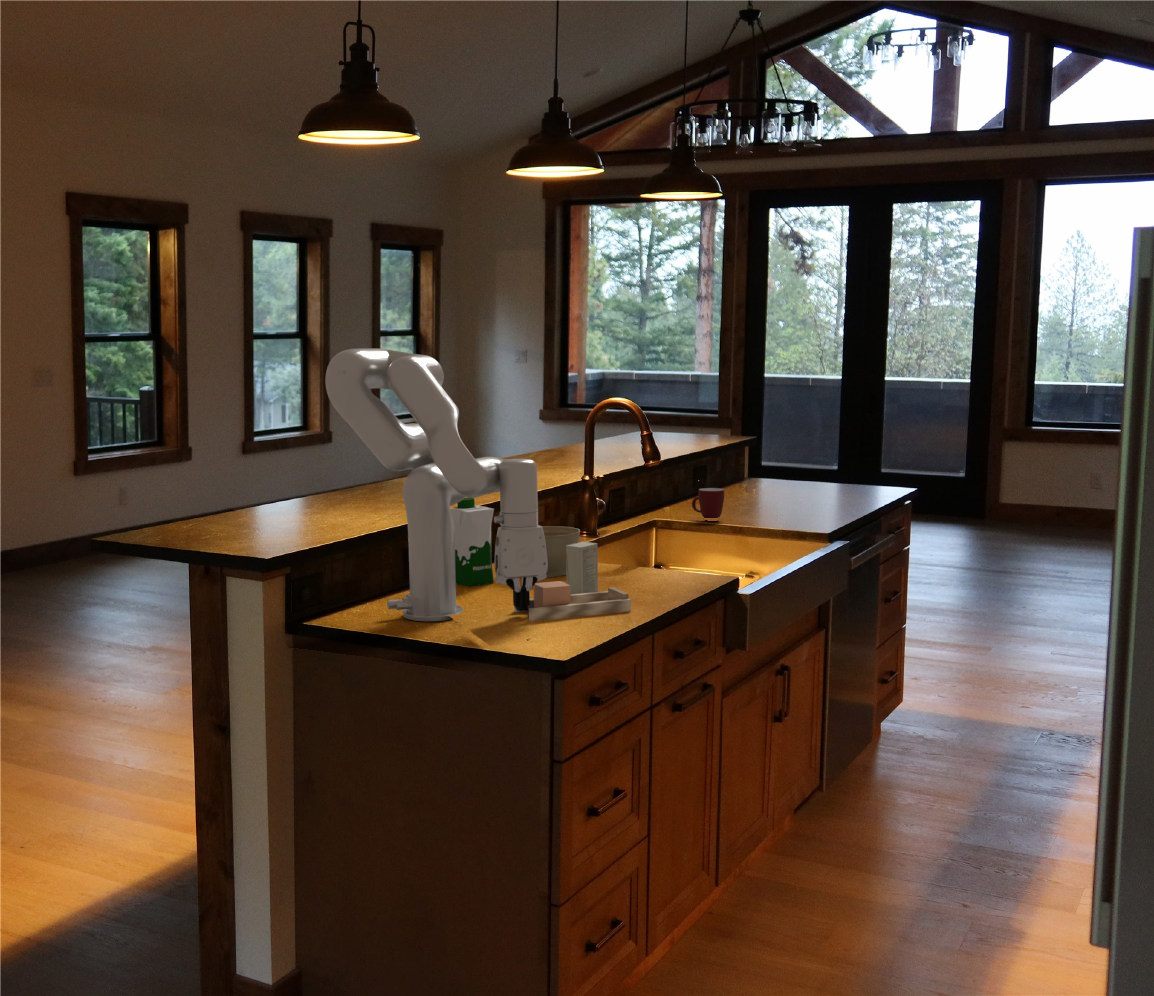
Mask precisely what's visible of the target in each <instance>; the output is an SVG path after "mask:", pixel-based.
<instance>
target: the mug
mask: <svg viewBox="0 0 1154 996" xmlns="http://www.w3.org/2000/svg"><path fill="white" fill-rule="evenodd" d="M697 501H698V502H699V509H698V508H697V505H696V503H697ZM724 501H725V489H724V488H718V487H705V488H698V496H696V497H694V498H693V499H692V502H691V507H692V509H693V511H695V512H697V513H700V514H701V516H702V517H704V518H718V517H719V518H720V517H721V515H722V513H723V508H724V503H725V502H724ZM704 518H703V519H704Z"/></svg>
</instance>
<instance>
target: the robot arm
mask: <svg viewBox="0 0 1154 996" xmlns="http://www.w3.org/2000/svg"><path fill="white" fill-rule="evenodd" d="M444 378H445V374H444V371H443V367H442V366H441V364H440V362H438V361H437V360H436V359H435V358H433V356H430V355H426V354H419V353H418V354H417V353H410V352H404V351H398V350H394V349H393V350H392V349H386V348H385V349H384V348H378V347H377V348H375V347H374V348H373V347H372V348H370V347H369V348H366V347H365V348H363V347H361V348H358V347H357V348H350V349H344V350H342V351H340V352H338V353H336V354H335V355H334V356H333V357H332V358H331V360H330V361H329V363H328V365H327V368H326V372H325V389H326V394H327V396H328V400H329V401H330V403H331V404H332V407H333V408H334V409H335V410H336V412H337V413H338V415H340V417H341V418H342V419H343V420H344V421H345V422H346V423H347V424H348V425H349V426H350V427H351V429H352V430H353V431H354V432H355V434H356V435H357V436H358V437H359V438H360V440H361V441H362V442H363V443H364V445H366V447H367V448H368V449H369V450H370V451H371V453H372V454H373V455H374V456H375V458H377V460H378V461H379V462H380V463H381V464H382V465H383V466H384V467H385V468H386V469H387V470H389V471H392V472H402V471H407V470H408V471H409V470H411V471H410V472H409V474H408V475H407V476H406V478H405V480H404V483H403V487H402V496H403V502H404V503H403V504H404V508H405V514H406V520H407V521H406V522H407V523H406V524H407V539H408V540H407V542H408V562H409V563H408V569H409V574H408V575H409V593H406V594H405V597H404V596H403V597H402V598H401V599H390V600H389V599H388V600H387V602H386V605H387V606H386V607H387V609H388V610H397V611H400V610H401V611H402V610H403V611H402V616H403V618H404V619H406V620H409V621H410V620H411V621H414V622H415V621H416V622H443V621H444V622H445V621H451V620H454V618H453V617H451V616H455V615H459V614H462V613H463V612H464V611H465V608H463V607H462V606H460V605H457V584H456V575H455V537H454V524H453V519H452V515H451V511H450V508H451V506H453V505H456V504H457V503H458V502H460V501H462V500H463V499H464V498H474V499H475V498H479V497H483V496H486V495H491V494H494V493H499V496H500V499H499V503H500V504H499V505H500V511H499V515H497V516H496V515H495V516H493V522H494V524H499V525H500V526H499V527H497V533H496V536H495V537H496V539H495V546H494V547H495V548H494V572H495V577H494V583H497V584H502V585H507V586H508V587H509V588H510V589H511V590H512V601H513V602H512V603H513V604H512V605H513V606H514V607H515V608H516V609H517V610H519V611H523V610H524V611H528V605H530V591H531V590H532V588H534V584H535V583H538V582H540V581H543V580H545V579H546V578H548V577H547V576H546V572H547V570H548V562H547V551H546V543H545V537H544V532H543V527H542V525H539V499H538V466H537V463H536V461H534V460H533V459H530V458H509V459H508V458H501V457H496V456H482V457H477V458H475V457H474V456H473V454H472V453H471V452H470V451H469V449H468V448H467V446H466V445H465V443H464V442H463V440H462V438H461V437H460V433H459V430H458V423H459V421H458V420H459V416H460V410H459V408H458V406H457V405H456V404H455V402H454V401H453V399H452V398H451V397H450V396H449V395H448V393H447V392H446V391H445V390H444V388H443V387H442V385H443V384H444ZM370 389H384V390H391V391H392V392H393V393H394V394H395V396H396V397H397V399H398V400H399V401H400V402H401V404H402V405H403V406H404V408H406V410H407V412H408V413H409V414H410V415H411V416H412V418H413V419H414V421H415V423H413V422H412V423H404V422H402V421H401V420H400V419H399V418H398V417H397V416H396V415H395V414H394V413H393V412H392V410H391V409H390V408H389V406H388V405H387V404H385V402H384V401H382V399H380V398H379V397H377V396H376V395H375V394H374V393H373V392H371V390H370ZM520 578H521V579H522V580H521V582H520ZM514 607H513V608H514Z"/></svg>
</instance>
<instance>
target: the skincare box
mask: <svg viewBox="0 0 1154 996" xmlns="http://www.w3.org/2000/svg"><path fill="white" fill-rule="evenodd" d="M598 559H599V558H598V543H596V542H591V541H589V542H588V541H579V542H578V543H574V544H570V545H566V575H565V576H566V584H568V585H570V586H571V594H581V593H592V592H599V569H598V567H599V566H598V565H599V564H598V561H599V560H598Z"/></svg>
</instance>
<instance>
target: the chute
mask: <svg viewBox="0 0 1154 996" xmlns="http://www.w3.org/2000/svg"><path fill="white" fill-rule="evenodd" d="M513 611H514V613H517V614H518V613H526V612H527V613H528V616H529V617H528V620H529V622H540V621H541V622H542V621H549V620H550V621H551V620H558V619H567V618H568V619H569V618H579V617H580V618H581V617H586V616H587V617H588V616H599V615H607V614H616V613H617V614H618V613H625V612H632V599H631V598H629V593H628V592H625V591H623V590H621V589H619V588H616V587H614V586H611V587H607V590H605V591H604V590H602V591H598V592H592V593H581V594H571V603H569V604H559V605H548V606H539V607H538V608H534V597H533V598H530V605H528V611H524V610H523V611H519V610H517V609H516V608H515V607H513Z"/></svg>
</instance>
